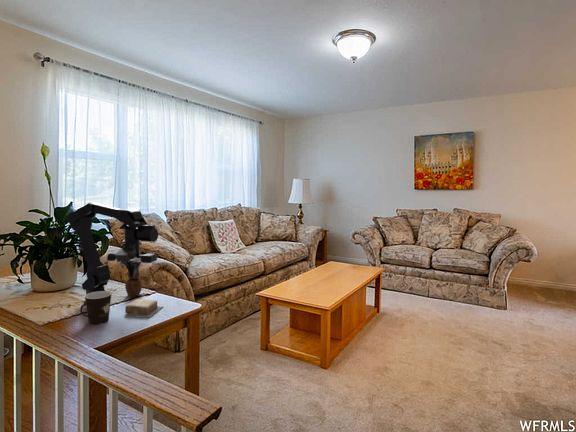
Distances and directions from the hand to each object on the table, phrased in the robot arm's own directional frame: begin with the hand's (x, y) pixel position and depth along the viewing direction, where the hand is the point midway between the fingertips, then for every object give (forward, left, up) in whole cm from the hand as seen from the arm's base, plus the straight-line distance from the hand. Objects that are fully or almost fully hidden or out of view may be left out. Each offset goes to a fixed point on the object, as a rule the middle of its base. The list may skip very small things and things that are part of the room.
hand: (132, 277), depth 143 cm
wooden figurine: (-7, +13, -12) cm, 19 cm away
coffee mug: (-4, -18, -12) cm, 22 cm away
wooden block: (+2, -5, -10) cm, 11 cm away
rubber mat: (+8, -5, -12) cm, 15 cm away
